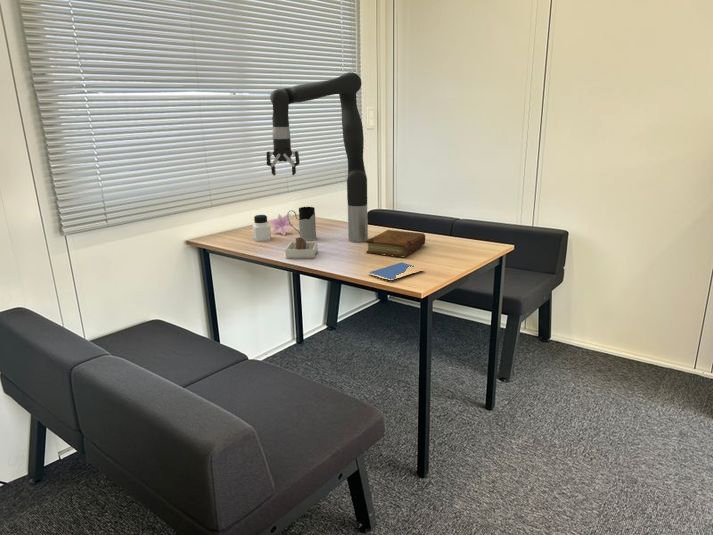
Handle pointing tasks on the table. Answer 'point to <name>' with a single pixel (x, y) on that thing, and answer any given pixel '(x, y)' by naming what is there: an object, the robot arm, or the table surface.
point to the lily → (281, 224)
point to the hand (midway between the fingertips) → (283, 175)
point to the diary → (395, 243)
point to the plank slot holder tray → (302, 251)
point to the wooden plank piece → (300, 243)
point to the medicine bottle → (261, 228)
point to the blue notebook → (391, 270)
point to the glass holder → (306, 223)
